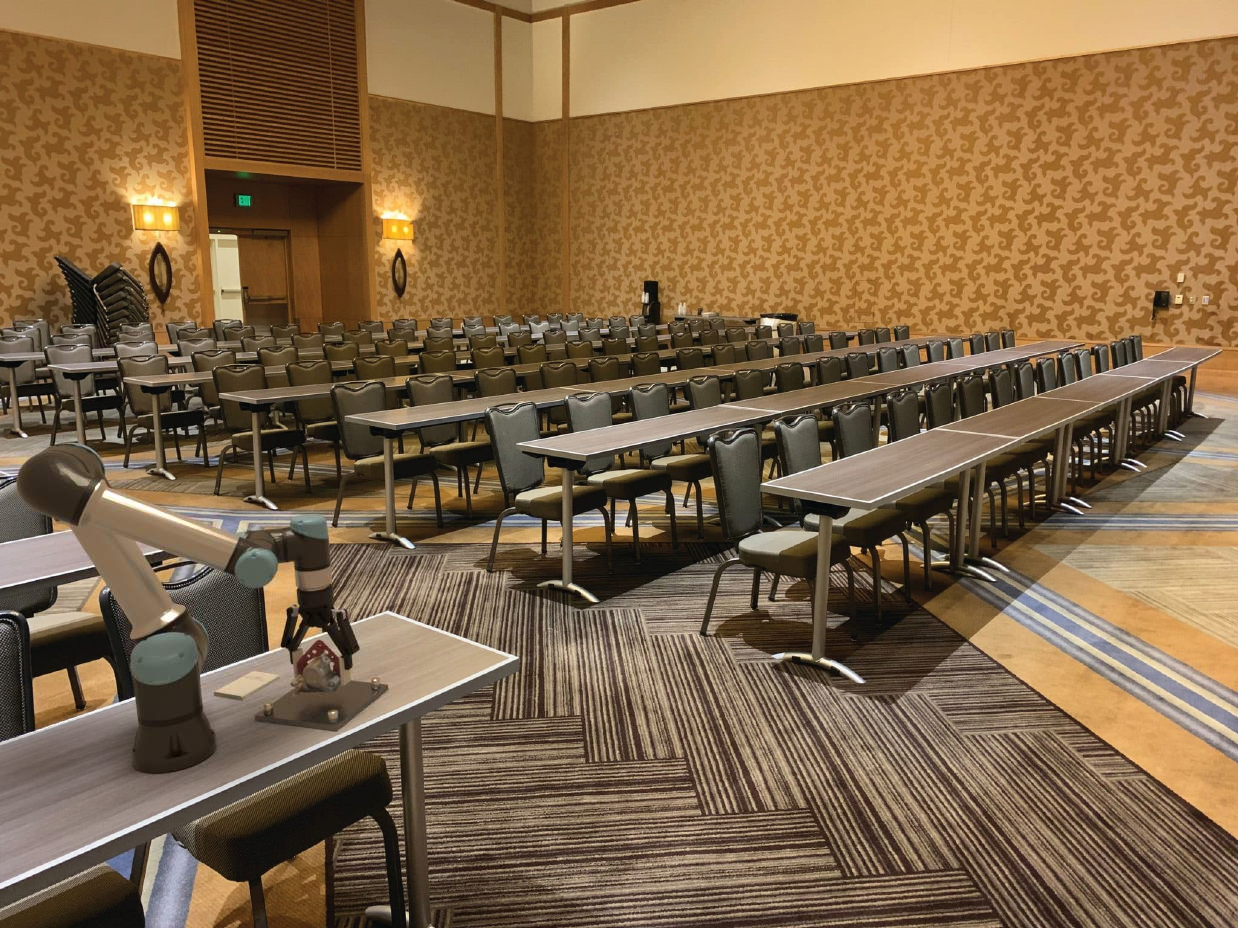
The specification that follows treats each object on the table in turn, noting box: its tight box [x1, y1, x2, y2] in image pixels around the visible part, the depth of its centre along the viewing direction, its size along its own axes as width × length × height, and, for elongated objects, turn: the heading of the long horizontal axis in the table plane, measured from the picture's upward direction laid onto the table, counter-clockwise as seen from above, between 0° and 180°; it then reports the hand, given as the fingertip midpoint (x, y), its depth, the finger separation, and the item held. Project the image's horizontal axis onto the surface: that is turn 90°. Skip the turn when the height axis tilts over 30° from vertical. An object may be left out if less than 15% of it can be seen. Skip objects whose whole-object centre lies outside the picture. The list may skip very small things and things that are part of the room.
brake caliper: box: [289, 639, 341, 697], centre depth 200 cm, size 11×11×12 cm
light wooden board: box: [213, 670, 281, 701], centre depth 212 cm, size 2×8×12 cm
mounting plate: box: [254, 676, 389, 732], centre depth 202 cm, size 20×21×3 cm
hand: (322, 680), depth 201 cm, fingers closed on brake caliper, 11 cm apart
